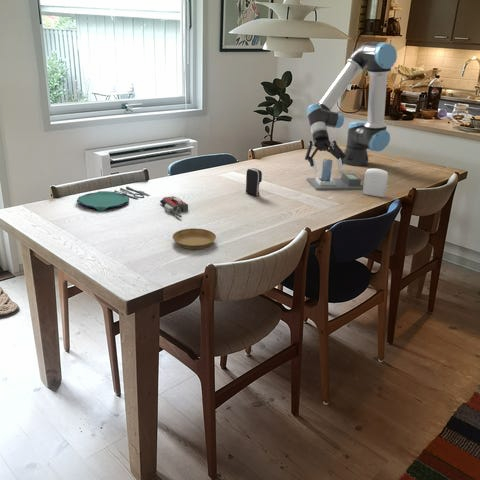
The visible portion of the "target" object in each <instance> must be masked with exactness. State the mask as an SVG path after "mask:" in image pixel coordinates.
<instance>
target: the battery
mask: <svg viewBox="0 0 480 480" xmlns="http://www.w3.org/2000/svg"><path fill="white" fill-rule="evenodd" d="M245 177H246V179H245V181H246V182H245V193H247V194H249V195H252V196H254V197H257V196H259V195H260V192H259V190H260V189H259V188H260V183H261V182H262V181H263V173H262V171H261V170H260V169H258V168H254V167H251V168H248V169H247V170H246V176H245Z"/></svg>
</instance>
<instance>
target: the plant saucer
mask: <svg viewBox="0 0 480 480" xmlns="http://www.w3.org/2000/svg"><path fill="white" fill-rule="evenodd" d="M216 238H217V235H216V233H214V232H213V231H210V230H207V229H206V228H205V229H204V228H196V227H195V228H193V227H192V228H191V227H190V228H185V229H181V230H178V231H176V232H174V233H173V234H172V240H173V241H174V243H175V244H177V245H178V246H179V247H181V248H183V249H187V250H188V249H189V250H202V249H205V248H208V247H209V246H210V245H212V244H213V243H214V242H215V241H216Z"/></svg>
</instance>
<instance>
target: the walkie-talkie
mask: <svg viewBox="0 0 480 480" xmlns="http://www.w3.org/2000/svg"><path fill="white" fill-rule="evenodd" d="M159 202H160V203H161V205H162V206H163V207H164V211H166V212H167V213H168V214H173V215H174V216H176V217H179V218H180V219H181V218H182V215H181V214H179V213H181V212H187V211H189V204H188V203H186V202H185V201H183V200H182V199H181V198H179V197H177V196H172V195H171V196H165V197H163V198H162V199H161V200H159Z"/></svg>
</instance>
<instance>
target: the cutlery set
mask: <svg viewBox="0 0 480 480" xmlns="http://www.w3.org/2000/svg"><path fill="white" fill-rule="evenodd" d="M119 190H120V191H121V192H120V191H118V190H117V189H115V190H114V191H107V190H105V191H103V190H101V191H100V190H99V191H96V192H89V193H85V194H83V195H80V196H78V197H77V199H76V202H77V203H79V204H80V205H81V206H82V207H86V208H90V209H96V210H97V212H105V210H106V209H114V208H118V207H122V206H124V205H126V204H129V203H130V198H131V199H135V200H139V196H140V197H142V198H144V197H145V196H146V197H149V196H150V194H148V193H146V192H145V191H142V190H137V189H134V188H131V187H129V186H125V188H122V187H119ZM129 190H130V191H129ZM122 191H123V192H122ZM132 191H133V192H132ZM134 192H135V193H134ZM127 193H129V194H127ZM130 194H131V195H130Z"/></svg>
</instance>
